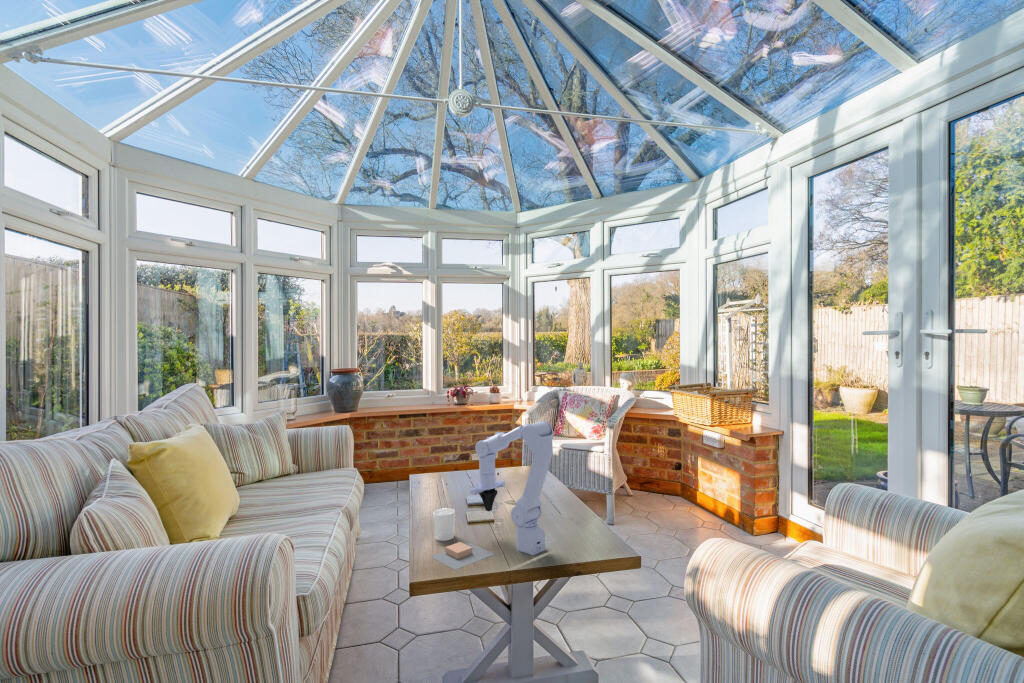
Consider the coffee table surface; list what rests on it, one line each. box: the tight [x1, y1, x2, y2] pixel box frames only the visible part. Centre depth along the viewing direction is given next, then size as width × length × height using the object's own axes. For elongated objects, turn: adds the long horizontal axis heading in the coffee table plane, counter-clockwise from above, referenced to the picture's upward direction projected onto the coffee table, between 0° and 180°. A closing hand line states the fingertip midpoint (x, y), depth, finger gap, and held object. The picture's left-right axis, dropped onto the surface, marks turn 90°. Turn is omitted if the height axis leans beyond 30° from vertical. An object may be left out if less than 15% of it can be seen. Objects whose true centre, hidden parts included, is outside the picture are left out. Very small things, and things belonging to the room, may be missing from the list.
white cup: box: [432, 507, 456, 542], centre depth 178 cm, size 8×8×10 cm
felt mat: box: [430, 542, 495, 571], centre depth 161 cm, size 14×16×1 cm
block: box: [444, 541, 473, 559], centre depth 163 cm, size 7×2×6 cm
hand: (488, 510), depth 178 cm, fingers closed
